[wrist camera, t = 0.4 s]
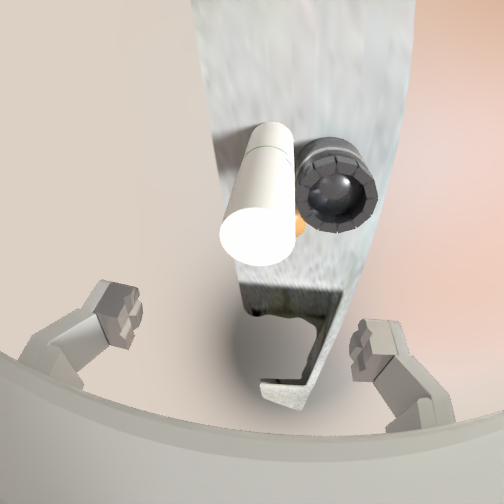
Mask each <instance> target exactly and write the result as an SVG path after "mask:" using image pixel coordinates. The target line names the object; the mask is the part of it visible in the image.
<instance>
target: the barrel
mask: <svg viewBox="0 0 504 504" xmlns="http://www.w3.org/2000/svg"><path fill="white" fill-rule="evenodd" d="M295 174H296V176H295V188H296V191H295V204H296V206H297V209H298V211H299V213H300V216H301V218H303V220H304V221H305V222H307V223H308V224H309V225H311V226H312V227H314V228H315V229H316V230H317V229H319V231H325V232H331V233H337V231H338V233H341V232H345V231H348V230H352V229H356V227H357V228H358V227H359V226H360V225H361V224H363V223H364V222H365V221H366V220H367V219H368V218H370V217H371V215H372V214H373V211H374V209H375V206H376V203H377V201H378V194H377V190H376V186H375V181H374V179H373V177H372V175H371V173H370V172H369V170H368V168H367V166H366V164H365V162H364V161H363V159H362V157H361V155H360V153H359V152H358V150H357V149H356V148H355V147H354V146H353V145H352V144H351V143H349V142H347V141H345V140H343V139H340V138H335V137H324V138H320V139H317V140H314V141H312V142H310V143H309V144H308V145H306V146H305V147H304V148H303V149H302V151H301V152H300V153H299V155H298V157H297V160H296V165H295ZM355 226H356V227H355Z"/></svg>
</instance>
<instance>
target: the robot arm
mask: <svg viewBox="0 0 504 504" xmlns="http://www.w3.org/2000/svg"><path fill="white" fill-rule="evenodd" d="M139 295H140V294H139V290H138V288H136V287H133V286H129V285H124V284H119V283H115V282H111V281H106V280H100V281H99V282H98V283H97V285H96V286H95V288H94V289H93V291H92V292H91V294H90V296H89V297H88V298H87V300H86V302H85V303H84V305H83V307H82V308H81V309H76V310H74V311H73V312H71V313H69V314H67V315H66V316H64V317H62V318H61V319H59V320H57V321H55V322H54V323H52V324H50V325H49V326H47V327H46V328H44V329H42V330H40V331H39V332H37V333H35V334H34V335H32V337H31V338H30V340H29V341H28V343H27V345H26V346H25V348H24V350H23V352H22V354H21V355H20V357H19V359H18V360H15V359H13V358H11V357H9V356H8V355H6V354H4V353H2V352H1V351H0V504H504V410H502V411H499V412H496V413H493V414H489V415H486V416H482V417H478V418H474V419H470V420H466V421H462V422H457V423H456V421H455V416H454V411H453V407H452V403H451V399H450V395H449V394H448V392H447V391H446V390H445V389H444V388H443V387H442V386H441V385H440V384H439V383H438V382H437V381H436V380H435V378H434V377H433V376H432V375H431V374H430V373H429V372H428V371H427V370H426V369H425V368H424V366H423V365H422V364H421V363H420V362H419V361H418V360H417V359H416V358H415V357H414V356H410V353H409V350H408V346H407V343H406V339H405V336H404V333H403V329H402V326H401V323H400V322H399V321H389V320H387V321H386V320H375V319H362V320H361V321H360V322H359V324H358V329H359V330H358V331H356V332H354V333H353V335H352V337H351V340H350V344H349V354H350V357H351V358H352V360H353V361H354V363H353V364H352V366H351V369H352V377H353V381H358V382H373V384H374V386H375V387H376V389H377V390H378V391H379V393H380V394H381V396H382V397H383V399H384V400H385V402H386V403H387V405H388V406H389V408H390V409H391V411H392V412H393V414H394V415H395V417H396V419H395V420H394V421H392V422H391V423H389V424H388V425H387V426H386V427H385V428H386V433H384V434H371V435H353V436H352V435H351V436H303V435H284V434H270V433H259V432H251V431H242V430H235V429H228V428H221V427H215V426H209V425H204V424H198V423H193V422H188V421H184V420H178V419H174V418H170V417H165V416H162V415H158V414H154V413H150V412H147V411H143V410H139V409H136V408H133V407H129V406H126V405H123V404H120V403H116V402H113V401H110V400H107V399H104V398H102V397H99V396H96V395H93V394H90V393H88V392H85V391H83V390H82V389H83V386H84V384H83V381H82V380H81V378H80V377H79V376H78V374H77V372H78V371H79V370H81V369H82V368H83V367H84V366H85V365H87V364H88V363H89V362H90V361H92V360H93V359H94V358H95V357H96V356H98V355H99V354H100V353H101V352H103V350H105V349H106V348H107V347H108V346H109V345H112V346H116V347H120V348H124V349H128V350H129V348H130V346H131V343H132V341H133V339H134V336H135V335H134V332H133V330H134V329H136V328H138V327H139V325H140V322H141V318H142V314H143V309H142V308H143V307H142V303H141V302H140V301H139V300H138V297H139Z"/></svg>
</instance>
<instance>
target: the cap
mask: <svg viewBox="0 0 504 504" xmlns="http://www.w3.org/2000/svg"><path fill="white" fill-rule="evenodd" d="M304 229H305V221H304V220H303V218H301V216H300V213H299V211H298V209H297V207H296V206H295V237H297V236H299V235H300V234H301V233H302V232H303V231H304Z"/></svg>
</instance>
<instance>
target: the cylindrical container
mask: <svg viewBox="0 0 504 504" xmlns="http://www.w3.org/2000/svg"><path fill="white" fill-rule="evenodd" d="M220 240H221V244H222V246H223V248H224V249H225V250H226V252H227V253H228V254H229V255H231V256H232V257H233V258H234V259H236V260H238V261H240V262H242V263H245V264H248V265H253V266H268V265H273V264H276V263H278V262H280V261H282V260H284V259H285V258H286V257H288V255H289V254H290V253H291V252H292V250H293V248H294V245H295V174H294V142H293V136H292V134H291V132H290V130H289V129H288V128H287V127H285V126H284V125H282V124H280V123H277V122H265V123H262V124H260V125H258V126H257V127H256V128H255V129H254V130H253V132H252V134H251V137H250V139H249V142H248V145H247V148H246V151H245V154H244V157H243V160H242V163H241V166H240V169H239V172H238V175H237V178H236V181H235V184H234V187H233V190H232V193H231V196H230V199H229V203H228V206H227V209H226V212H225V215H224V219H223V222H222V225H221V229H220Z"/></svg>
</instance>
